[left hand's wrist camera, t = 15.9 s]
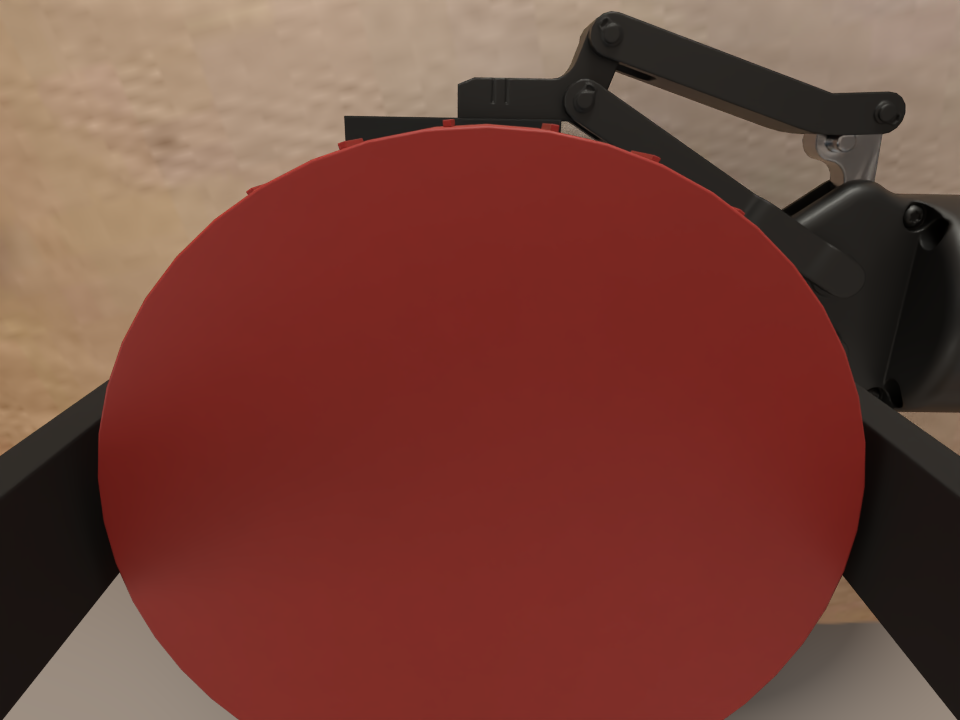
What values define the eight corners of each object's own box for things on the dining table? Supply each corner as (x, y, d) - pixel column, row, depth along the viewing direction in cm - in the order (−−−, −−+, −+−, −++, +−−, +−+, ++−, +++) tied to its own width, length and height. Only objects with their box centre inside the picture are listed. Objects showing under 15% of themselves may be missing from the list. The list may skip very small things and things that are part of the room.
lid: (946, 297, 11) (1041, 333, 9) (618, 771, 15) (639, 866, 13) (266, -20, 9) (213, -53, 8) (91, 602, 13) (27, 682, 11)
